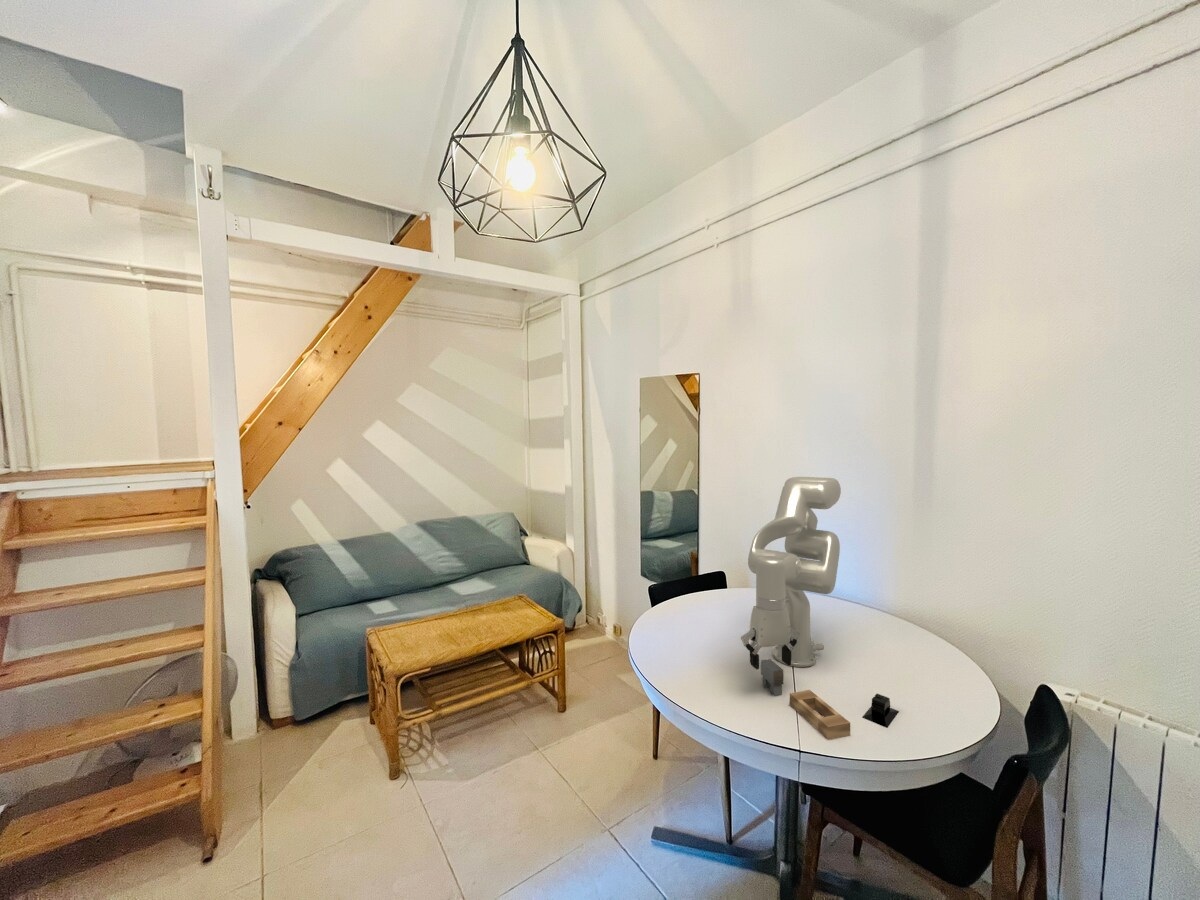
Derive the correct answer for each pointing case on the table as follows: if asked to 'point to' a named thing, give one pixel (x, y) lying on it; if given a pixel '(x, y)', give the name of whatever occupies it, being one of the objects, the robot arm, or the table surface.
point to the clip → (772, 676)
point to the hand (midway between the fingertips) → (770, 665)
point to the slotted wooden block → (827, 725)
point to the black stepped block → (881, 711)
